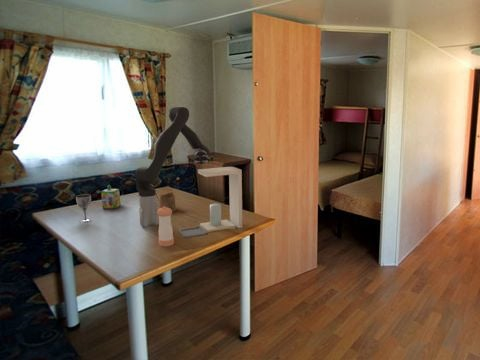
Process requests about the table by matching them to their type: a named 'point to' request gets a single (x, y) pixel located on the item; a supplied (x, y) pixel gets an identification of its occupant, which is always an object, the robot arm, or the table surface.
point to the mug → (167, 201)
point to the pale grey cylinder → (215, 214)
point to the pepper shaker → (165, 227)
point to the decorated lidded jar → (110, 198)
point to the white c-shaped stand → (234, 194)
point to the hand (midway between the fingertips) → (200, 160)
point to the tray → (192, 231)
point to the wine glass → (84, 203)
